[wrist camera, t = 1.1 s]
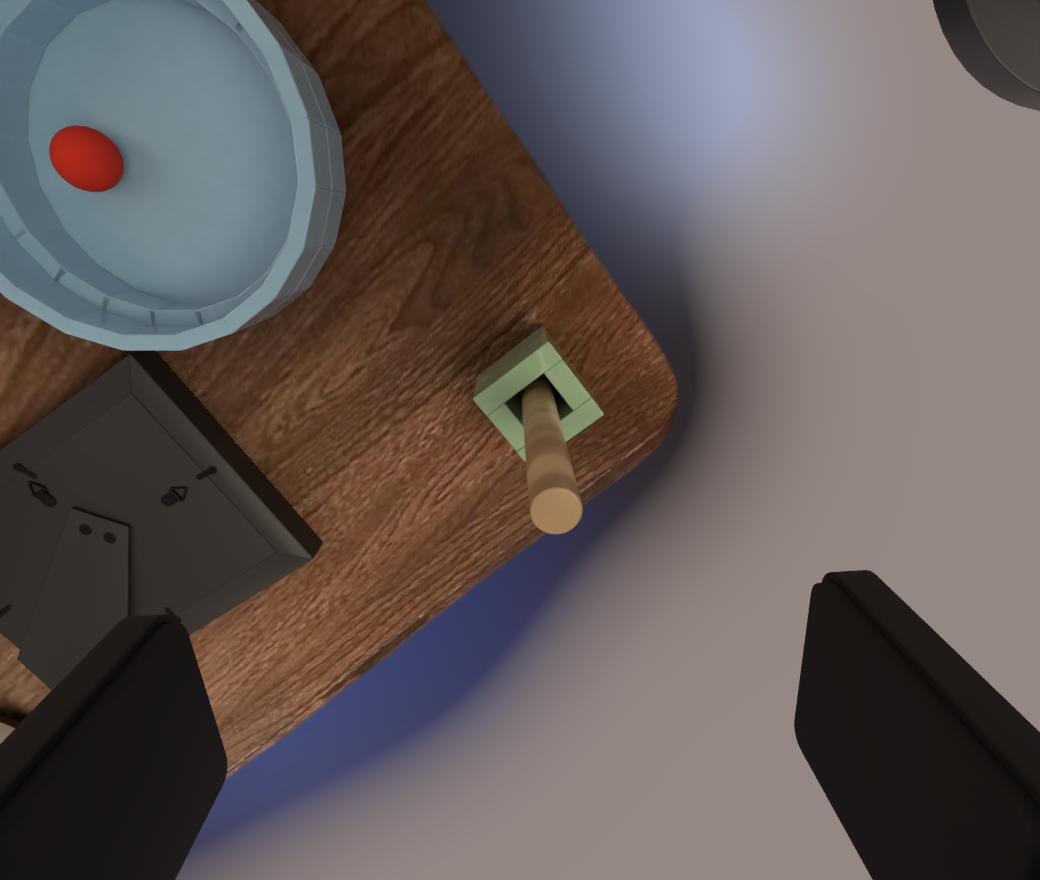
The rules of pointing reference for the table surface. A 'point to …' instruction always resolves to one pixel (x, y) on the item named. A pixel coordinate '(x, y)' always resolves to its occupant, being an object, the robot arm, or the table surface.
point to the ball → (86, 158)
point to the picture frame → (132, 518)
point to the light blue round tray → (163, 168)
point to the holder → (519, 371)
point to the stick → (548, 462)
